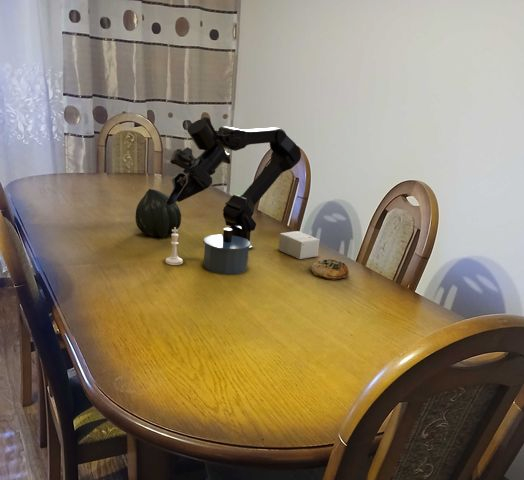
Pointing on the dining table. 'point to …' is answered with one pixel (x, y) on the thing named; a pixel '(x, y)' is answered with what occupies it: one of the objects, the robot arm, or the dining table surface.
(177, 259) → the chess piece
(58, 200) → the dining table surface
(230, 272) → the pot
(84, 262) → the dining table surface
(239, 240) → the pot lid
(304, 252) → the small box
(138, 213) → the squash
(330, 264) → the bread roll
